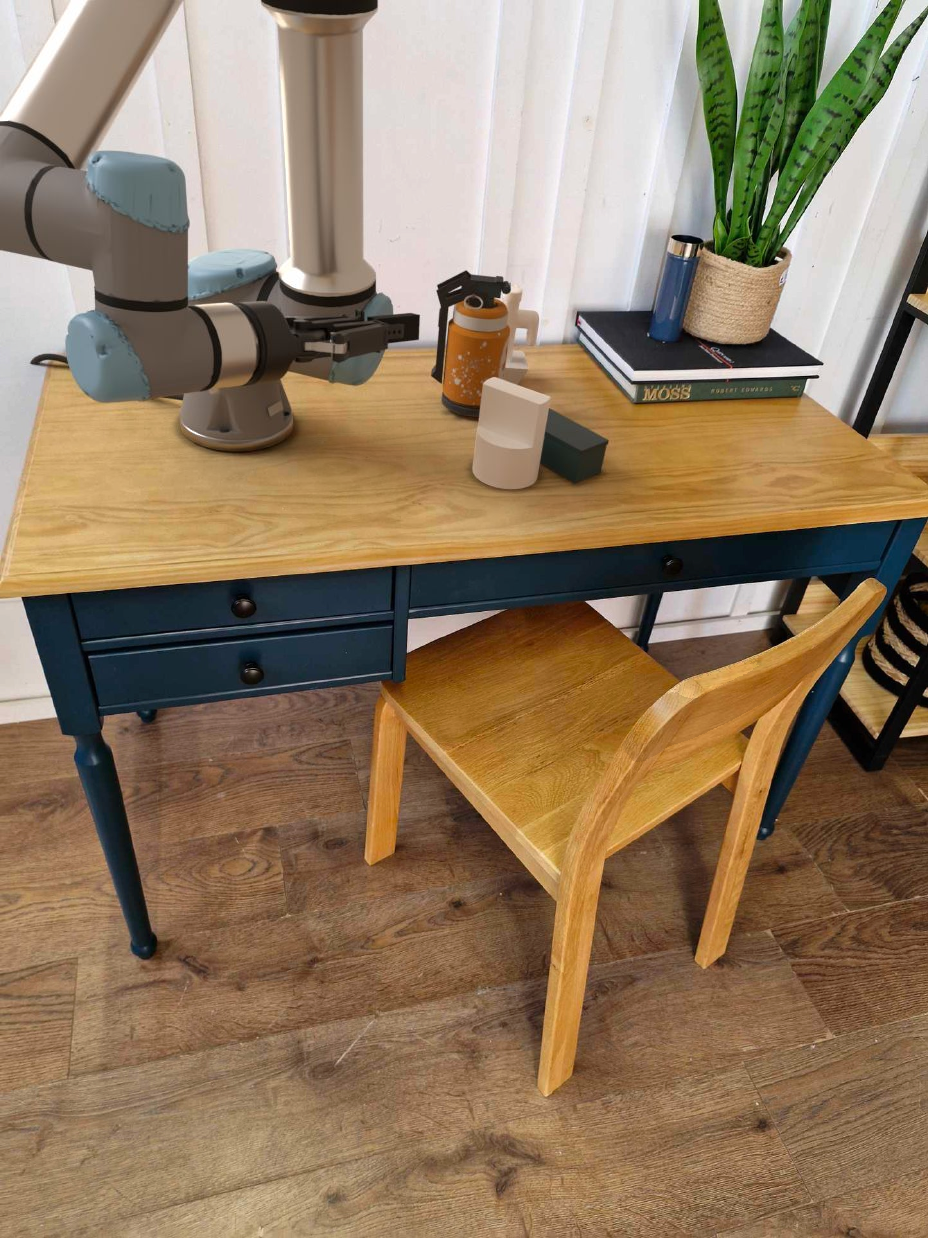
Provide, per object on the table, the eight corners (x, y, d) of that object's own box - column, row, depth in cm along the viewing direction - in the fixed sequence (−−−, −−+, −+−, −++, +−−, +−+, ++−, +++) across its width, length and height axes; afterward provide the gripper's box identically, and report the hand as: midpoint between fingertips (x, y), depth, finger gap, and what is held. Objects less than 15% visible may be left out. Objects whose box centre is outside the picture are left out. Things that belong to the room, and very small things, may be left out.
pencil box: (497, 438, 133) (501, 406, 130) (524, 429, 137) (529, 397, 134) (574, 484, 125) (581, 450, 122) (602, 472, 129) (609, 440, 125)
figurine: (532, 391, 147) (547, 298, 138) (473, 387, 146) (484, 293, 137) (527, 372, 153) (541, 281, 144) (470, 368, 152) (481, 276, 143)
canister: (499, 423, 137) (517, 288, 125) (425, 415, 137) (436, 280, 125) (499, 397, 144) (516, 267, 132) (429, 390, 144) (439, 259, 132)
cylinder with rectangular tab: (549, 471, 127) (563, 390, 120) (517, 496, 121) (530, 412, 114) (493, 449, 131) (504, 369, 123) (459, 473, 125) (468, 390, 117)
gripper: (200, 372, 93) (374, 350, 109) (281, 398, 85) (455, 371, 101) (195, 293, 89) (375, 283, 105) (279, 313, 82) (459, 299, 98)
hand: (414, 326), depth 103 cm, fingers closed
